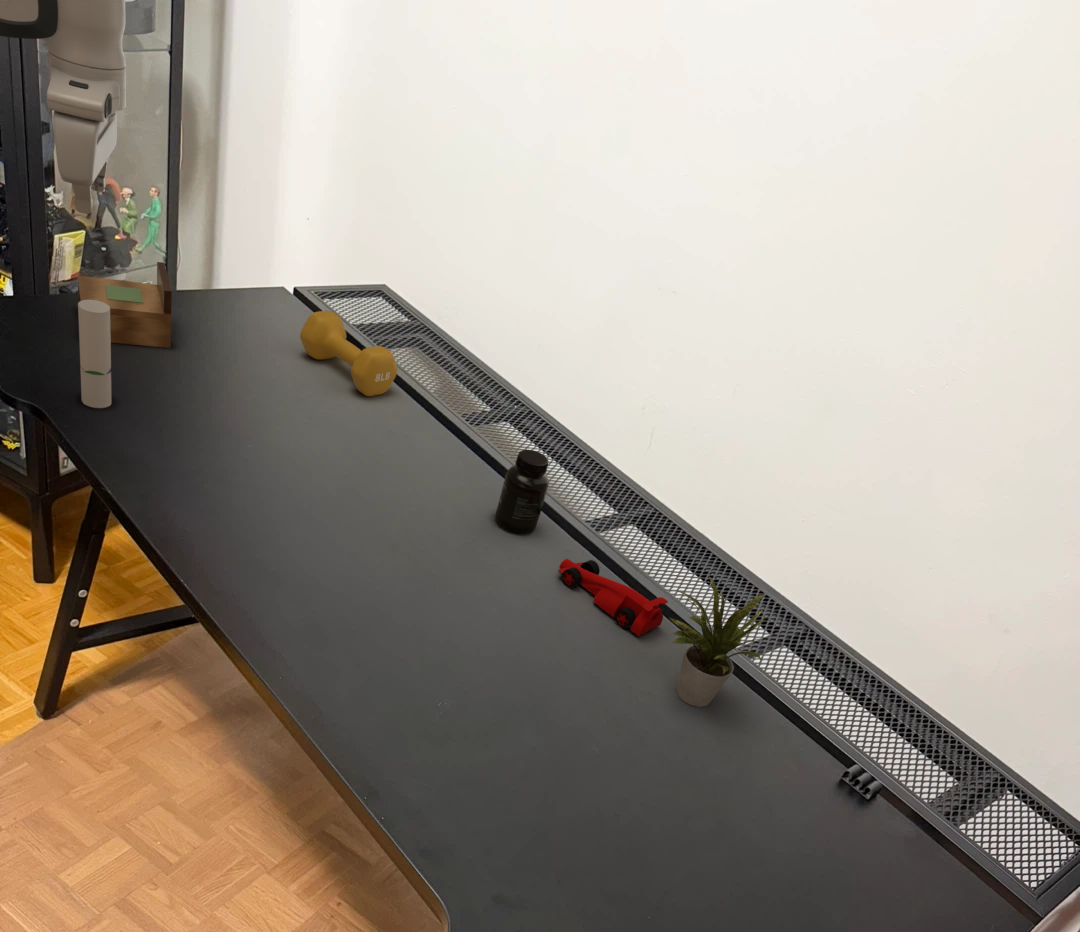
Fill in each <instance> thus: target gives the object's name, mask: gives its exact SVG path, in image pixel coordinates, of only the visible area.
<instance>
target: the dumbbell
mask: <svg viewBox="0 0 1080 932" xmlns="http://www.w3.org/2000/svg"><path fill="white" fill-rule="evenodd" d="M299 337H300V341H301V343H302V346H303V349H304V351H305V353H306V354H307V355H308V356H309V357H311V358H312V359H314V360H329V359H332V358H335V357H336V358H338V359H340V360H341V361H342V362H344V363H346V364H347V365H348V366H349V367H351V370H350V371H351V372H350V373H351V378H352V381H353V384H354V385H355V388H356V389H357V391H359V392H360V393H361V394H362V395H364V396H366V397H375V396H379V395H383V394H384V393H386V392H387V391H388V390H389V389H390V387H391V386H392V384H393V382H394V381H395V379H396V377H397V374H398V365H397V362H396V359H395V356H394V354H393V352H392V351H391V350H389V349H388V348H387V347H384V346H380V345H374V346H369V347H366V348H363V349H362V350H361V349H360V348H359V347H357V345H354V344H353V343H351V342H350V341H348V340H347V331H346V327H345V325H344V323H343V321H342V319H341V317H340V316H339V315H338V314H336V313H335V312H334V311H332V310H318V311H315V312H313V313H311V314H310V315H309V316H308V318H307V319H306V321H305V323H304V325H303V326H302V329H301V330H300V334H299Z"/></svg>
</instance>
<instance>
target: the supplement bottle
mask: <svg viewBox="0 0 1080 932" xmlns="http://www.w3.org/2000/svg"><path fill="white" fill-rule="evenodd" d="M549 463H550V462H549V458H548V457H547V456H546V455H545V454H543V453H541V452H539V451H537V450H533V449H522V450H520V451H519V452H518V454H517V456H516V460H515V463H514V465H512V466H510V467H509V468H508V470H506V474H505V477H504V480H503V484H502V488H501V492H500V495H499V500H498V502H497V507H496V511H495V515H494V520H495V523H496V524H497V525H498V526H499V527H500V528H501V529H503V530H504V531H506V532H508V533H510V534H514V535H520V536H523V535H525V536H526V535H528V534H531V533H533V532H534V531H535V530H536V528H537V526H538V523H539V519H540V516H541V512H542V509H543V506H544V503H545V499H546V496H547V492H548V489H549V484H550V483H549V482H550V481H549V478H548V476H547V472H548V467H549Z"/></svg>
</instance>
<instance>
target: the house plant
mask: <svg viewBox="0 0 1080 932" xmlns="http://www.w3.org/2000/svg"><path fill="white" fill-rule="evenodd" d="M708 578H709V581H710V583H711V586H712V591H713V592H712V593H713V602H712V615H713V621H712V623H713V624H712V625H711V622H710V618H709V617H708V614H707V611H706V609H705V608H704V606H703V605H702V603H700V601H699V600H698V599H696V598H695V597H693V596H691V595H690V594H688V593H685V592H684V591H681V590H678V589H677V592H679V593H680V594H682V595H683V596H685V597H687V598H688V599H685V601H688V602H689V603H691V604H693V605H694V607H696V608H697V611H699V615H700V617H699V616H696V615H693V616H689V617H688V619H690V620H692V621H694V622H695V623H696V624H698V626H700V628H701V633H702V634H701V633H700V632H698V631H697V630H695V628H692V627H691V626H689V625H688V624H686V623H684V622H682V621H681V620H678V619H675V618H672V617H669V619H670V621H671V622H672V623H673V624H675V625H677V627H679V628H681V630H677V631H675V632H672V633H671V634H670V636H671V635H672V636H673V635H675V636H679V637H677V638H676V639H674V640H673V641H672V642H671V643H670V644H686V645H687V644H689V646H687V647H686V648H685V650H684V654H683V659H682V662H681V667H680V670H679V674H678V679H677V683H676V686H675V687H676V688H675V692H676V694H677V696H678V697H679V698H680V700H682V701H683V702H684V703H686V704H688V705H690V706H693V707H697V708H698V707H699V708H701V707H702V708H703V707H706V706H709V705H710V703H711V702H712V701H713V699H714V698H715V697H716V695H717V694H718V692H719V691H720V690H721V688H722V687H723V686H724V685H725V683H726V682H727V680H729V678H730V676H731V675H733V673H734V670H735V667H734V663H733V661H732V659H731V657H733V656H736V655H748V656H752V657H756V658H758V659H759V660H760V662H761V663H763V662H762V658H761V656H760V655H759V653H757V652H754V651H738V652H734V653H732V654H729V655H728V653H729V652H731V651H732V650H734V649H736V648H738V647H740V646H742V645H744V644H747V643H750V642H755V641H758V640H760V638H754V639H751V640H747V641H744V642H742V639H743V638H744V637H745V636H747V635H749V634H750V633H752V632H753V631H754V630H755V629H756V628H757V627H758V626H760V625H761V624H762V622H764V620H765V619H767V616H765V617H764V618H761V619H760V620H758V621H757V622H755V621H756V620H757V618H758V617H759V616H760V615H761V613H762V612H763V609H761V610H759V611H758V612H757V613H756V614H755V615H753V616H752V617H751V618H750V619H749V620H748V621H747V622H746V623H745V624H743V625H742V626H741V627H739V626H740V624H741V623H742V622H743V620H744V619H745V618H746V617H747V615H749V613H750V612H751V611H752V610H753V609H754V608H757V607H759V606H760V605H758V603H759V602H760V601H761V600H762V599H763V598H764V597H765V595H766V593H763V594H760V595H757V596H755V597H754V598H753V599H752V600H750V601H749V602H748V603H747V604H745V605H744V606H743V608H742V607H741V608H738V609H737V610H736V611H734V612H733V613H732V614H731V615H730V616H729V617H728V618H727V620H726V622H724V625H723V617H724V612H725V604H726V601H725V596H724V594H723V592H722V590H718V587H717V585H716V583H715V581H714V580H713V578H712V577H710V576H708ZM719 592H720V593H719ZM689 599H690V600H689ZM720 601H721V602H720ZM719 609H720V610H719ZM754 622H755V623H754ZM753 623H754V624H753ZM749 626H750V627H749ZM748 627H749V628H748ZM747 628H748V629H747Z"/></svg>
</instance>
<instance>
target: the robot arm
mask: <svg viewBox="0 0 1080 932" xmlns="http://www.w3.org/2000/svg"><path fill="white" fill-rule="evenodd" d="M126 23H127V22H126V0H0V37H4V38H7V39H11V38H12V39H25V40H26V39H28V40H43V41H45V42H46V44H47V57H48V59H47V60H48V85H47V89H46V106H47V109H48V110H50V111H53V115H52V120H53V121H52V126H53V135H54V145H55V154H56V161H57V169H58V172H59V176H60V178H61V180H62V181H63V182H65V183H69V184H71V185H72V191H73V194H74V197H75V210H76V211H77V212H78V213H80V214H85V215H91V213H92V211H93V209H94V204H93V203H94V201H93V200H94V199H93V196H92V191H96V192H99V193H103V191H104V190H105V189H106V187H107V181H106V180H107V169H108V163H109V158H110V156H111V155H112V153H113V152H114V150H115V148H116V147H117V143H118V142H117V141H118V117H117V115H118V114H117V112H118V111H119V112H120V111H122V110H125V109H126V107H127V62H126V56H125V53H124V49H123V48H124V47H123V38H124V33H125V29H126Z"/></svg>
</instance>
